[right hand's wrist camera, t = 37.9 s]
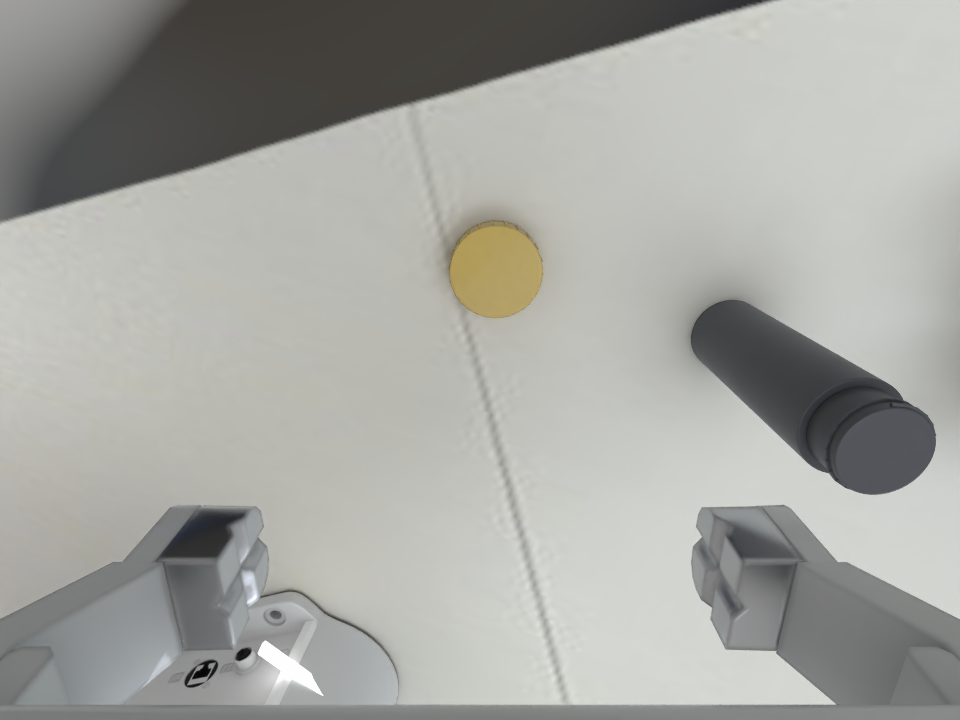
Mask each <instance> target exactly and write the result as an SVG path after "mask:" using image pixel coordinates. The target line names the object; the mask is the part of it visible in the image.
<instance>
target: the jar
mask: <svg viewBox="0 0 960 720" xmlns="http://www.w3.org/2000/svg"><path fill="white" fill-rule="evenodd" d="M691 342H692V348H693V351H694V353H695V355H696V356H697V358H698V359H699V360H700V361H701V362H702V363H703V364H704V365H705V366H706V367H707V368H709V369H710V370H711V371H712V372H713V373H714V374H715V375H716V376H717V377H718V378H719V379H720V380H721V381H722V382H723V383H724V384H725V385H726V386H727V387H728V388H730V389H731V390H732V391H733V392H734V393H735V394H736V395H737V396H738V397H739V398H740V399H741V400H742V401H743V402H744V403H745V404H746V405H747V406H748V407H749V408H751V409H752V410H753V411H754V412H755V413H756V414H757V415H758V416H759V417H760V418H761V419H762V420H763V421H764V422H765V423H766V424H767V425H768V426H769V427H770V428H772V429H773V430H774V431H775V432H776V433H777V434H778V435H779V436H780V437H781V438H782V439H783V440H784V441H785V442H786V443H787V444H788V445H789V446H790V447H791V448H792V449H794V450H795V451H796V452H797V453H798V454H799V455H800V456H801V457H802V458H803V459H804V460H805V461H806V462H807V463H808V464H810V465H811V466H812V467H814V468H816V469H817V470H820V471H822V472H826V473H829V474H830V475H831V476H832V478H833V479H834V480H835V481H836V482H838V483H839V484H841V485H842V486H843V487H845V488H847V489H850V490H853V491H856V492H859V493H863V494H869V495H878V494H885V493H890V492H893V491H896V490H898V489H900V488H903V487H904V486H906V485H908V484H909V483H911V482H912V481H914V480H915V479H916V478H917V477H918V476H919V475H920V474H921V473H922V472H923V471H924V470H925V469H926V467H927V466H928V464H929V463H930V461H931V459H932V457H933V454H934V451H935V445H936V438H935V436H936V434H935V430H934V426H933V425H934V424H933V423H932V422H931V420H930V419H929V417H928V415H926V414H925V413H924V412H922V411H921V410H920V409H918V408H917V407H914V406H912V405H911V404H910V403H908V402H906V401H904V400H903V398H902V397H901V395H900V394H899V392H898V391H897V390H896V389H895V388H894V387H893V386H891V385H889V384H888V383H886V382H884V381H883V380H881V379H879V378H877V377H876V376H874V375H872V374H870V373H869V372H867V371H865V370H863V369H862V368H860V367H858V366H856V365H855V364H853V363H851V362H849V361H848V360H846V359H844V358H842V357H841V356H839V355H837V354H835V353H834V352H832V351H830V350H828V349H827V348H825V347H823V346H821V345H820V344H818V343H816V342H814V341H813V340H811V339H809V338H807V337H806V336H804V335H802V334H800V333H799V332H797V331H795V330H793V329H792V328H790V327H788V326H786V325H785V324H783V323H781V322H779V321H778V320H776V319H774V318H772V317H771V316H769V315H767V314H765V313H764V312H762V311H760V310H758V309H756V308H755V307H753V306H751V305H749V304H747V303H745V302H742V301H736V300H730V301H724V302H720V303H717V304H715V305H713V306H711V307H710V308H708V309H707V310H706V311H705V312H704V313H703V314H702V315H701V316H700V317H699V318H698V320H697V322H696V323H695V325H694V328H693V331H692V337H691Z"/></svg>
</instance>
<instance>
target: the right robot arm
mask: <svg viewBox="0 0 960 720" xmlns="http://www.w3.org/2000/svg"><path fill="white" fill-rule="evenodd" d="M263 527H264V525H263V519H262V514H261V511H260V510H259V509H258V508H257V507H251V506H200V505H177V506H174V507H171V508H169V509H168V511H167V512H166V513H165V514H164V515H163V516H162V517H161V519H160V520H159V521H158V522H157V523H156V524H155V525H154V526H153V528H152V529H151V530H150V531H149V532H148V533H147V534H146V536H145V537H144V538H143V539H142V540H141V541H140V542H139V544H138V545H137V546H136V547H135V548H134V549H133V550H132V552H131V553H130V554H129V555H128V556H127V557H126V558H125V560H124V561H123V562H113V563H111V564H109V565H107V566H105V567H103V568H101V569H99V570H97V571H95V572H93V573H91V574H89V575H87V576H85V577H83V578H81V579H79V580H77V581H75V582H73V583H71V584H69V585H67V586H65V587H63V588H61V589H59V590H57V591H55V592H53V593H51V594H49V595H48V596H46V597H44V598H42V599H40V600H38V601H36V602H34V603H32V604H30V605H28V606H26V607H24V608H22V609H20V610H18V611H16V612H14V613H12V614H10V615H8V616H6V617H4V618H2V619H0V720H960V619H958V618H956V617H954V616H952V615H950V614H948V613H946V612H944V611H942V610H940V609H938V608H936V607H934V606H932V605H930V604H928V603H926V602H924V601H922V600H920V599H918V598H916V597H914V596H912V595H910V594H908V593H906V592H904V591H902V590H900V589H898V588H897V587H895V586H893V585H891V584H889V583H887V582H885V581H883V580H881V579H879V578H877V577H875V576H873V575H871V574H869V573H867V572H865V571H863V570H861V569H859V568H857V567H855V566H853V565H851V564H849V563H847V562H837V561H836V560H835V558H834V557H833V556H832V555H831V554H830V553H829V552H828V550H827V549H826V548H825V547H824V546H823V545H822V544H821V542H820V541H819V540H818V539H817V538H816V537H815V536H814V535H813V533H812V532H811V531H810V530H809V529H808V528H807V527H806V525H805V524H804V523H803V522H802V521H801V520H800V519H799V517H798V516H797V515H796V514H795V513H794V512H793V511H792V509H791V508H789V507H787V506H785V505H769V506H755V507H702V508H701V510H700V512H699V514H698V518H697V524H696V527H697V529H698V531H699V532H700V534H701V536H702V538H701V539H700V540H699V541H698V542H697V543H696V544H695V545H694V546H693V551H692V559H691V565H692V576H693V581H694V584H695V587H696V590H697V592H698V594H699V596H700V599H701V600H702V601H704V602H705V603H706V604H708V605H709V606H711V607H712V612H711V621H712V623H713V625H714V627H715V629H716V631H717V633H718V635H719V637H720V639H721V641H722V643H723V645H724V647H725V649H727V650H762V651H777V652H776V653H777V654H778V655H779V656H780V657H781V658H782V659H784V660H785V661H786V662H787V663H788V664H790V665H791V666H792V667H793V668H794V669H795V670H797V671H798V672H799V673H800V674H801V675H803V676H804V677H805V678H806V679H807V680H809V681H810V682H811V683H812V684H813V685H814V686H816V687H817V688H818V689H819V690H820V691H822V692H823V693H824V694H825V695H826V696H827V697H829V698H830V699H831V700H832V701H833V702H835V703H836V704H837V705H396V702H397V698H398V691H399V685H398V678H397V674H396V671H395V668H394V666H393V664H392V662H391V660H390V659H389V657H388V656H387V654H386V653H385V652H384V650H383V649H382V648H381V647H380V646H379V645H378V644H377V643H376V642H375V641H374V640H372V639H371V638H370V637H369V636H367V635H366V634H364V633H363V632H361V631H359V630H358V629H356V628H354V627H352V626H350V625H348V624H345V623H343V622H341V621H338V620H336V619H334V618H332V617H330V616H328V615H326V614H324V613H323V612H322V611H321V610H320V609H319V608H318V607H317V606H316V605H315V604H314V603H312V602H311V601H310V600H309V599H308V598H306V597H305V596H303V595H301V594H299V593H296V592H284V593H280V594H275V595H271V596H267V597H262V598H260V596H261V594H262V592H263V590H264V588H265V584H266V579H267V575H268V563H269V557H268V550H267V546H266V545H265V544H264V543H263V542H262V541H261V540H260V539H259V538H258V536H259V534H260V532H261V531H262V529H263ZM277 611H279V612H277Z"/></svg>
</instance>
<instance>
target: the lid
mask: <svg viewBox="0 0 960 720" xmlns="http://www.w3.org/2000/svg"><path fill="white" fill-rule="evenodd" d="M451 257H452V260H451V262H450V266H449V270H450V283H451V285H452V288H453V290H454V292H455V295H456V296H457V298H458V299H459V300H460V302H461V303H462V304H463V305H464V306H465V307H467V308H468V309H469V310H471V311H472V312H474V313H476V314H478V315H481V316H484V317H489V318H502V317H507V316H511V315H513V314H516V313H518V312H519V311H521V310H523V309H524V308H525V307H526V306H528V305H529V304H530V303H531V301H532V300H533V299H534V298H535V296H536V294H537V292H538V291H539V288H540V285H541V281H542V275H543V267H542V262H543V261H542V259H541V257H540V255H539V253H538V247H537V246H536V244H535V243H533V242H532V240H531V239H530V236H529V234H528V233H525V232H524V231H523V230H521V229H520V228H519V227H518V226H517V225H516V226H515V225H512V224H510V223H506V221H504V222H501V221H493V220H491V221H490V222H485V223H482V224H480V223H478V225H477V226H475V227H473V228H471V229H470V230H469V229H468V230H467V232H466V233H465V234H464V235H463V236H462V237H461V239H458V242H457V245H456V247H455V249H454V250H453V251H452V255H451Z"/></svg>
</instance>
